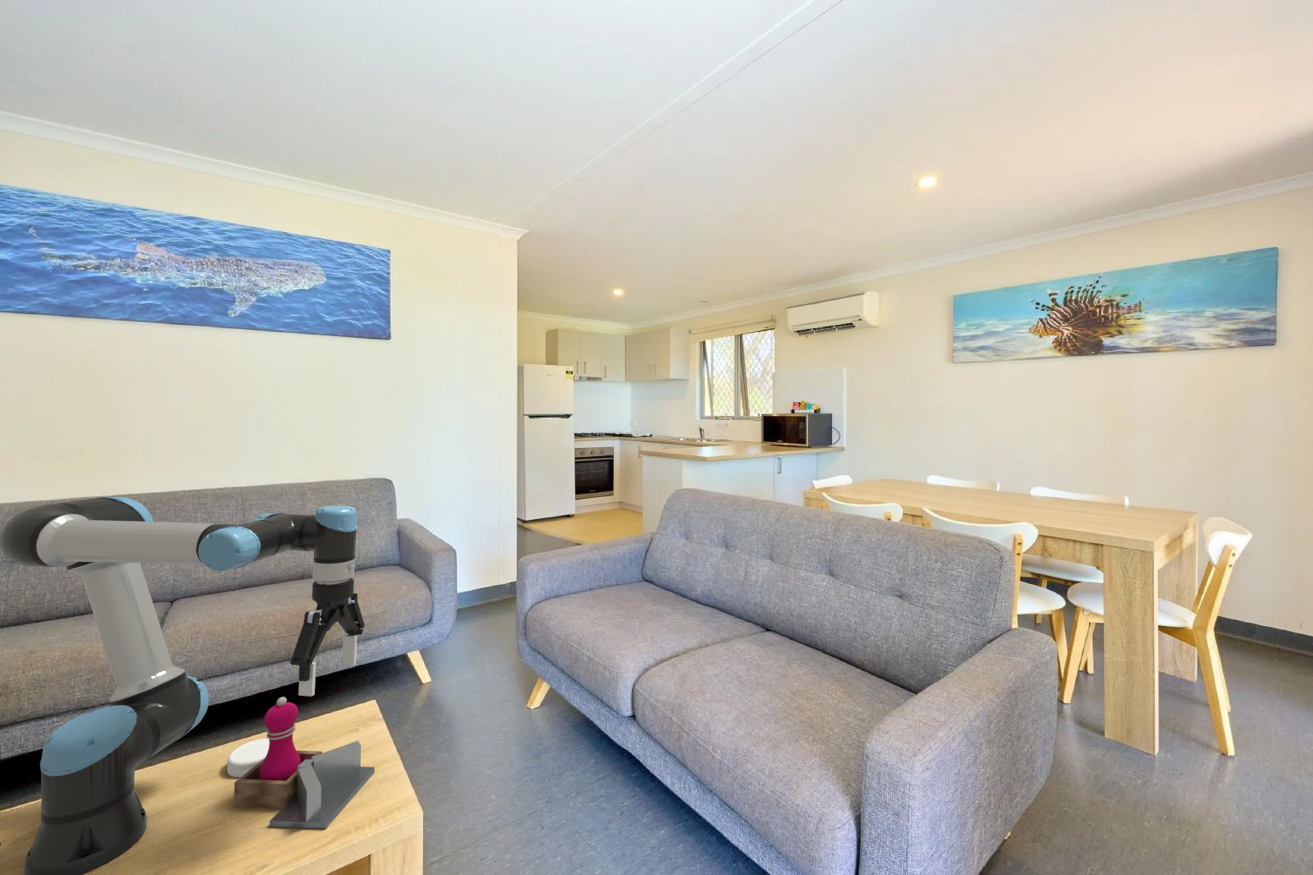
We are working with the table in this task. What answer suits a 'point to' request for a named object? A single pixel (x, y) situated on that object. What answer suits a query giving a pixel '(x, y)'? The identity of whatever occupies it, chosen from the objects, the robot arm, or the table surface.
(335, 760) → the v block
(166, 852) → the table surface
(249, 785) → the wooden square frame
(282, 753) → the pepper mill
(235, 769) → the coaster
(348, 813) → the table surface
